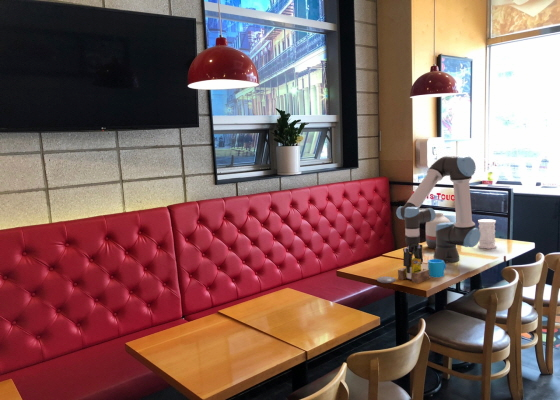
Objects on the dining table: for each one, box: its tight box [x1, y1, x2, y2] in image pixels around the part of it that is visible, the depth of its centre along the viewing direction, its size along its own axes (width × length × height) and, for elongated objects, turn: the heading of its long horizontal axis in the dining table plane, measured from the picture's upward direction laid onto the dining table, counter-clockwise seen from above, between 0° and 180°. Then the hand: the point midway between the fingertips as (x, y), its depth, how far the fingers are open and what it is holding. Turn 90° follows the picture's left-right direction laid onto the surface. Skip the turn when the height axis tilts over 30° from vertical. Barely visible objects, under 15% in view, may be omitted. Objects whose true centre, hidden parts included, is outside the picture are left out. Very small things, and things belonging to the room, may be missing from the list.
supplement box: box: [405, 257, 422, 281], centre depth 241 cm, size 6×6×11 cm
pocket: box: [397, 266, 431, 284], centre depth 242 cm, size 11×12×5 cm
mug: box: [427, 258, 447, 278], centre depth 246 cm, size 12×8×8 cm
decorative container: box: [477, 218, 498, 250], centre depth 300 cm, size 12×12×18 cm
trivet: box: [376, 276, 397, 284], centre depth 242 cm, size 10×10×1 cm
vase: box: [425, 212, 451, 250], centre depth 306 cm, size 17×17×24 cm
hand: (413, 276), depth 242 cm, fingers closed on supplement box, 6 cm apart
